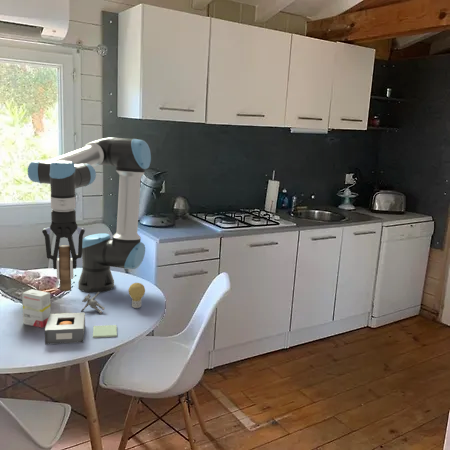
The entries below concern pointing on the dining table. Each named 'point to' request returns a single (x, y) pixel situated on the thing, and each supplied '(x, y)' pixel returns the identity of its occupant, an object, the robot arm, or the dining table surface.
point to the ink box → (36, 308)
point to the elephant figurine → (92, 303)
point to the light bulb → (136, 294)
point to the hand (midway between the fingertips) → (65, 277)
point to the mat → (105, 331)
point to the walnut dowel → (64, 267)
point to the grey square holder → (65, 328)
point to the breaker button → (65, 322)
